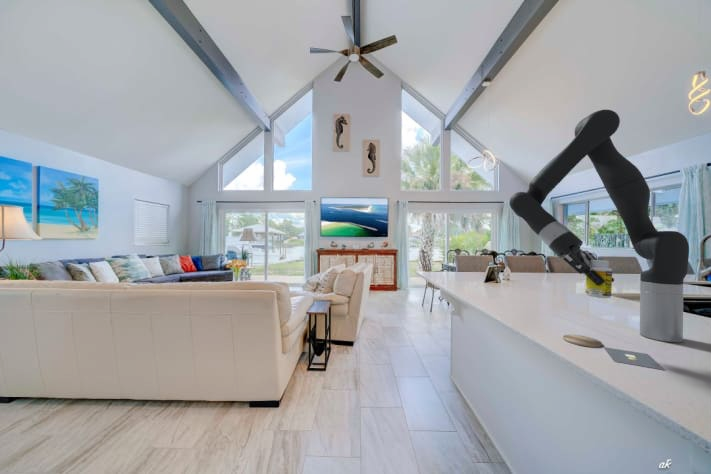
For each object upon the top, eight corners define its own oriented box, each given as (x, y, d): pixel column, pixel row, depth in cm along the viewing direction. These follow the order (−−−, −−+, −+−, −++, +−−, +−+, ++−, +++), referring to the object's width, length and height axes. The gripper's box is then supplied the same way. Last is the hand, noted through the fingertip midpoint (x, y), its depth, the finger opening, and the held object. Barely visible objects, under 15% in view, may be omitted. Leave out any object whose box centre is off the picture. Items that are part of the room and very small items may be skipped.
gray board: (603, 348, 81) (603, 346, 81) (647, 355, 76) (647, 353, 76) (614, 362, 71) (614, 361, 71) (665, 371, 67) (665, 369, 67)
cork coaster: (561, 334, 91) (561, 332, 91) (598, 339, 87) (598, 337, 87) (565, 343, 84) (565, 341, 84) (605, 349, 79) (605, 347, 79)
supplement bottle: (607, 299, 77) (608, 261, 77) (582, 295, 82) (583, 259, 82) (614, 297, 80) (615, 260, 80) (589, 293, 85) (590, 259, 85)
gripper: (557, 229, 84) (608, 276, 73) (580, 231, 91) (629, 273, 81) (538, 247, 88) (583, 293, 78) (560, 247, 96) (605, 289, 85)
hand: (606, 283), depth 79 cm, fingers closed on supplement bottle, 5 cm apart
